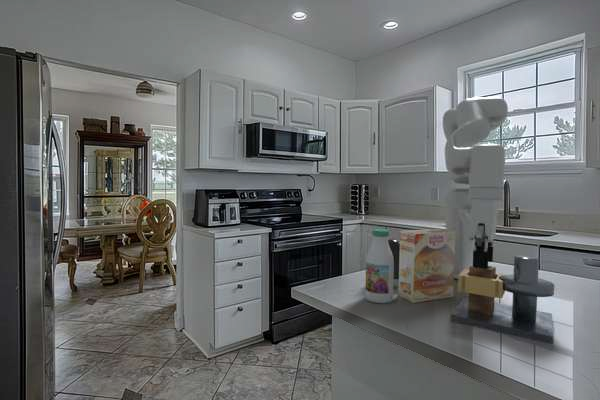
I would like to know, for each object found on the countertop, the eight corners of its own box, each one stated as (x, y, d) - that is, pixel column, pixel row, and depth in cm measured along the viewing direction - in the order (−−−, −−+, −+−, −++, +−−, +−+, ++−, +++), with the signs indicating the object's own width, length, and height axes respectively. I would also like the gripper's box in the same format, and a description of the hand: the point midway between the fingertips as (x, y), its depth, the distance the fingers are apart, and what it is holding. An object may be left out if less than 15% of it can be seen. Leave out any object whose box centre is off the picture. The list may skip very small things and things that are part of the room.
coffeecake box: (413, 303, 95) (415, 233, 94) (397, 295, 102) (398, 230, 101) (454, 297, 101) (456, 231, 100) (436, 290, 107) (438, 228, 106)
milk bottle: (375, 293, 104) (376, 227, 103) (398, 299, 98) (399, 230, 97) (359, 299, 98) (361, 229, 97) (383, 306, 93) (385, 232, 92)
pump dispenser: (396, 292, 104) (397, 243, 103) (368, 285, 112) (369, 238, 111) (414, 286, 111) (415, 239, 110) (386, 279, 119) (387, 235, 118)
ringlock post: (450, 320, 83) (452, 255, 82) (463, 302, 96) (465, 245, 96) (552, 343, 72) (556, 268, 71) (551, 319, 85) (554, 255, 84)
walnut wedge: (468, 309, 87) (469, 266, 86) (472, 305, 90) (474, 263, 89) (490, 314, 83) (491, 270, 83) (494, 310, 86) (495, 267, 86)
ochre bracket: (458, 291, 86) (458, 275, 85) (468, 278, 97) (469, 264, 97) (502, 298, 80) (502, 281, 80) (507, 284, 92) (508, 269, 92)
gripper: (474, 193, 94) (472, 256, 95) (462, 195, 80) (459, 268, 81) (506, 194, 90) (503, 260, 91) (499, 196, 76) (496, 274, 77)
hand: (482, 264), depth 86 cm, fingers open, 8 cm apart
